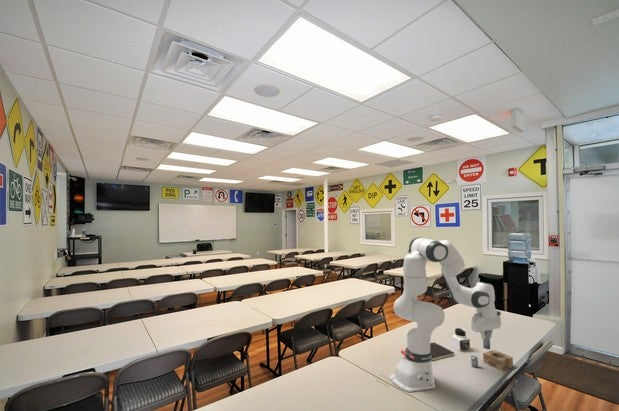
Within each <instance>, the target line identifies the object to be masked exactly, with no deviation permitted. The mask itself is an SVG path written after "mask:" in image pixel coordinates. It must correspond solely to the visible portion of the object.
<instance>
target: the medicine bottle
mask: <svg viewBox="0 0 619 411" xmlns="http://www.w3.org/2000/svg"><path fill="white" fill-rule="evenodd" d="M454 332H455V334H453V335H452V336H451V341H452V342H451V344H452V348H455V350H457V351H459V352H468V351H470V350H471V347H470V346H471V344H470V342H471V341H470V340H471V339H470V338H469V337H467V330H465V329H464V328H460V327H458V328H455V329H454Z"/></svg>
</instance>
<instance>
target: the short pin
mask: <svg viewBox="0 0 619 411" xmlns="http://www.w3.org/2000/svg"><path fill="white" fill-rule="evenodd" d="M470 359H471V360H470V363H471V365H470V366H471V367H472V368H474V369H478V368H479V358H478V356H476V355H471V356H470Z"/></svg>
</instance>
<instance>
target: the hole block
mask: <svg viewBox="0 0 619 411" xmlns="http://www.w3.org/2000/svg"><path fill="white" fill-rule="evenodd" d="M482 355H483V356H482V358H483V360H482V361H483V364H487V365H489V366H491V367H493V368H495V369H497V370H499V371H501V372H503V371H506V370H509V369H511V368H514V360H513V359H514V358H513V356H510V355H507V354H505V353H503V352H500V351H498V350H496V349H492V350H489V351H487V352H483V353H482Z"/></svg>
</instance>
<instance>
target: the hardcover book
mask: <svg viewBox="0 0 619 411" xmlns="http://www.w3.org/2000/svg"><path fill="white" fill-rule="evenodd" d="M406 349H407V347H406V348H405V350H406ZM430 350H431V355H432V359H431V362H433V361H436V360H441V359H444V358H447V357H452V356H454V355H455V352H454V351H452V350H450V349H448V348H446V347H444V346H442V345H441V344H439V343H436V342H430Z"/></svg>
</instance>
